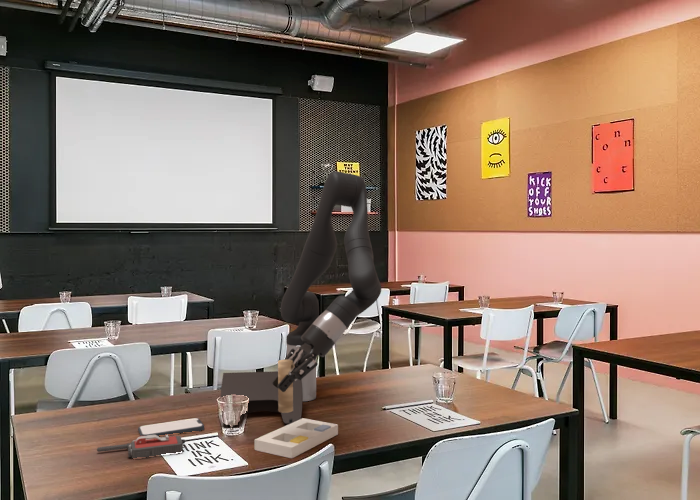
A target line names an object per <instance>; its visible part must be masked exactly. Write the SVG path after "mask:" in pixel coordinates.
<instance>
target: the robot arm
mask: <svg viewBox="0 0 700 500" xmlns="http://www.w3.org/2000/svg"><path fill="white" fill-rule="evenodd" d="M367 194H368V192H367V185H366V182H365V180H364V179H363V177H361V176H360V175H357V174H353V173H347V172H342V171H336V170H334V171H331V172H330V173H329V174H328V175H327V178H326V179H325V182H324V184H323V188H322V190H321V194H320V198H319V203H318V206H317V210H316V214H315V216H314V220H313V222H312V225H311V228H310V230H309V233H308V236H307V237H306V241H305V243H304V246H303V248H302V249H303V250H302V252H301V255H300V257H299V261H298V263H297V265H296V268H295V270H294V274H293V275H292V277H291V280H290V283H289V284H288V286H287V287H286V290H285V292H284V294H283V296H282V300H281V303H280V315H281V318H282V319H283V321H285V322H286V323H298V326H296V328H295V329H294V330H292V331H291V332H289V333H287V335H286V357H285V358H284V360H293V364H292V368H291V370H290V371H289V372H288V375H286V376H285V377H284V378H283V379H282V381H281V382H280V383H279V384H278V375H277V377H276V378H275V379H274V380H273V381H272V384H273V385H274V386H275V387H276V388H279V389H280V390H281V391H282V392H285V391H286V390H287V388H288V387H289V386H290V385H291V384H292V383H293V381H294V380H295V381H296V380H297V379H298V380H302V402H308V401H309V402H310V401H313V400H316V398H317V366H318V365H319V364H318V362H317V357H321V358H324V357H326V355H327V354H328V353H329V352H330V350H331V349H332V348H333V347H334V346H335V345H336V344H337V342H338V341H339V340H340V339H341V337H342V336H343V335H344V333H345V332H346V330H347V329H348V328H349V326H350V325H351V324H352V323H353V322H354V321H355V319H356V318H357V317H358V316H359V315H362V313H363V312H365V311H366V310H367V309H369V308H370V307H371V306H372V305H373V304H374V303H376V302H377V300H378V299H379V297H380V296H381V293H382V285H381V282H380V280H379V276H378V273H377V270H376V267H375V262H374V251H373V247H372V242H371V238H370V237H371V236H370V231H369V219H368V218H369V217H368V216H369V213H368V197H367ZM335 206H342V207H348V208H351V210H352V213H353V215H352V219H351V222H350V223H349V225H348V227H347V229H346V231H345V233H344V237H343V244H344V246H343V247H344V249H345V256H346V261H347V263H348V264H347V267H348V270H347V271H348V278H349V283H350V286H351V288H352V290H351V292H349V293H348V294H347V295H338V296H337V297H336V298H335V299H334V300H333V301H332V302H331V303H330V304H329V305H328V307H327V308H326V309H325V310H324V311H323V312H322V313H321V314H320V306H319V300H318V297H317V296H316V294H315V293H314V292H312V291H308V290H309V289H310V287H311V286H312V285H313V284H314V283H315V282H316V281H317V280H318V279H319V278H320V277H321V276H322V275H324V273H325V272H326V271H327V270H329V268H330V266H331V264H332V262H333V259H334V257H335V254H336V253H337V248H338V242H337V241H338V240H337V237H336V233H335V230H334V226H333V221H332V215H333V211H334V208H335ZM319 314H320V315H319Z"/></svg>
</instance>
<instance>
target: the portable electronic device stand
mask: <svg viewBox="0 0 700 500" xmlns="http://www.w3.org/2000/svg"><path fill="white" fill-rule="evenodd" d="M277 375H278V370H276V371H252V372H251V371H243V372H241V371H240V372H239V371H238V372H223V373H222V380H221V388H220V398H221V397H223V396H226V395H231V394H236V395H244V396H247V397H248V398H249V403H248V413H247V414H252V413H256V412H271V413H280V415H281V418H282V421H283V423H284V424H286V425H289V424H291V423H293V422H295V421H298V420H300V419H302V414H303V401H302V380H298V379H297V380H296V381H295V380H294V381H293V411H292V412H288V413H282V412H279V410H278V388H276V387H275V386H274V385H273V384H272V381H273V380H274V379H275V378H276V377H277Z"/></svg>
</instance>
